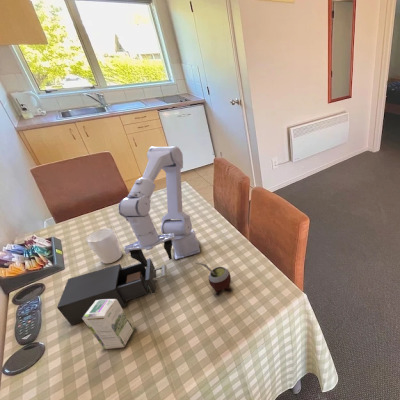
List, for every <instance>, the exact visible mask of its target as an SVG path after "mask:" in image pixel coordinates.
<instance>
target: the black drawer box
mask: <svg viewBox="0 0 400 400" xmlns="http://www.w3.org/2000/svg"><path fill="white" fill-rule="evenodd" d="M121 268H123V267H122V265H121V263H119V264H115V265H111V266H108V267H105V268H101V269H97V270H94V271H90V272H87V273H83V274H80V275H76V276H74V277H71V278H68V279H67V281H66V284H65V287H64V288H63V290H62V294H61V296H60V298H59V301H58V304H57V306H56V308H57V309H58V311H59V312H60V314H61V315H62V316H63V317H64V318H65V320H66V321H67V322H68V323H69V324H70V326H74V325H77V324H79V323H82V322H84V320H83V319H82V317H83V316H84V315H85V314H86V312H87V311H88V310H89V308H90V307H91V306H92V305H93V303H94V302H95V301H96V300H102V299H117V301H118V302H119V304H120V306H121V308H122V309H123V308H126V306H127V301H123V299H122V297H121V296H120V294H119V292H118V291H117V283H118V278H119V272H120V269H121Z"/></svg>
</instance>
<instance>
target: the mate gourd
mask: <svg viewBox="0 0 400 400" xmlns="http://www.w3.org/2000/svg"><path fill="white" fill-rule="evenodd" d="M194 264H195V265H199V266H200V265H201V266H203V267H204V268H206V269H207V270H208V271H209V274H208V282H209V285H210V286H211V287H212V289H213V290H214V291H215V292H216V293H215V294H216V295H217V296H219V295H220V294H221V293H222V291H227V292H231V288H230V283H231V279H232V277H231V273H230V271H229V270H228V269H227V268H226V267H225V266H224V267H223V266H218V267H217V266H216V267H215V268H213V269H211V268H210V267H209V266H208V265H207V263H202V262H194Z"/></svg>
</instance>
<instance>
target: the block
mask: <svg viewBox="0 0 400 400" xmlns="http://www.w3.org/2000/svg"><path fill="white" fill-rule="evenodd" d="M140 279H141V280H142V282H143V284H144V278H143V276H142V274H141V272H137V273H134V274H130V275H127V281H126V284H128V283H131V282H134V281H137V280H140Z"/></svg>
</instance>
